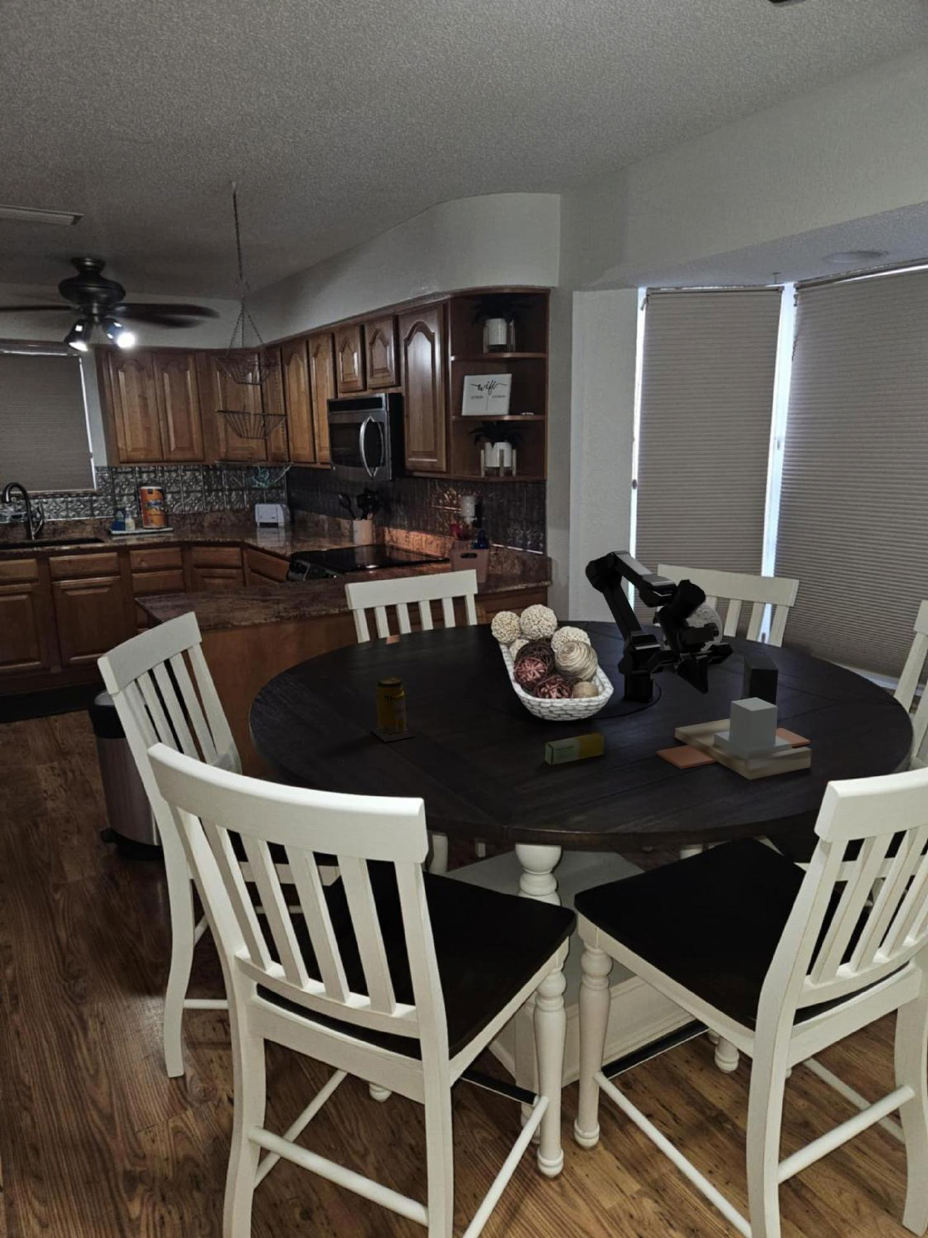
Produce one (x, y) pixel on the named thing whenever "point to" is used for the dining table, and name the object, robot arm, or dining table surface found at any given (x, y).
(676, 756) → the pad
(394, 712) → the condiment
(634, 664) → the robot arm
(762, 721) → the stepped block
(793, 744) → the pad
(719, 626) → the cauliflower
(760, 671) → the small box
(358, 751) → the dining table surface
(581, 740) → the medication box
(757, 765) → the birch board
